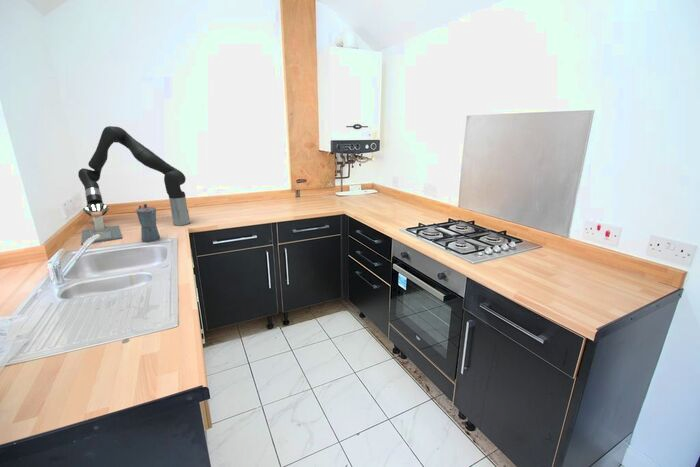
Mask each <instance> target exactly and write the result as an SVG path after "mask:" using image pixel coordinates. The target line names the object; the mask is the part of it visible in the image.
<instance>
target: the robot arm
mask: <svg viewBox="0 0 700 467" xmlns="http://www.w3.org/2000/svg"><path fill="white" fill-rule="evenodd" d="M114 143H118V144H120V145H122V146H124V147H125V148H126V149H128V150H129V151H130V152H131V155H132V156H133V157H134V158H135V159H136V161H138V162H139V163H141V164H142V166H143V165H144V166H145V167H147V168H149V169H150V170H151V169H152V170H154V171H157V172H159V173H161V174H163V175H164V177H163V181H164V186H165V190H166V194H167V195H168V200H169V206H170V211H171V212H170V213H171V218H172V224H173V226H180V227H181V226H186V225H189V223H190V224H191V220H190V213H189V209H188V203H187V199H186V193H185V192H184V191H182V189H181V185H183V184H186V183H185V182H186V179H187V178H186V176H185V174H184V173H183V172H182V171H181V170H179V169H177V168H176V167H174V166H172V165H171V164H169V163H168V162H167V161H165V160H164V159H162V158H161V157H160V156H158V155H157V154H156V153H154V152H153V151H151V149H149V148H147V147H146V146H144V144H142V143H140V142H139V141H138V140H136V139H135V138H134V137H133V136H131V134H129V132H127V131H126V130H125V129H124V128H122V127H120V126H111V125H108V126H105V128H103V130H102V132H101V135H100V138H99V140H98V144H97V147H96V150H95V151H94V152H93V155H92V156H91V158H90V160H89V161H88V164H87V165H88V167H89V168H90V169H88V168H85V167H84V168H81V169H79V170H78V179H79V180H80V182H81V184H82V185H83V187H84V191H85V200H86V207H84V208H82V211H83V213H85V214H87V215H88V216H90V217H91V218H93V217H92V216H91V213H92V212H97V211H101V212H102V216H105V214H106V213H107V212H108V211H109V210H110V206H109V205H105V204H104V202H103V197H102V193H101V191H100V187H99V186H100V185H99V183H98V181H100V179H101V173H102V170H103V168H104V166H105V164H106V163H107V160H108V156H109V150H110V148H111V146H112V145H113V144H114Z"/></svg>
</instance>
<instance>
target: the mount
mask: <svg viewBox="0 0 700 467" xmlns="http://www.w3.org/2000/svg"><path fill="white" fill-rule="evenodd" d="M104 227H105V229H106V231H102V232H96V231H95V227H93V228H90V229H89V230H90V235H91V237H92V236H93V235H96V234H99V235H100V237H99V238H98V239H97V240H103V239H109V238H112V236H111V231H110V227H111V225H108V226H107V225H106V226H104ZM97 240H95V241H97Z"/></svg>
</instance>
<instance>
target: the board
mask: <svg viewBox="0 0 700 467" xmlns="http://www.w3.org/2000/svg"><path fill="white" fill-rule="evenodd" d="M105 227H106V226H104V228H105ZM95 231H96V229H95ZM105 231H106V229H105ZM110 231H111V236H112V238H109V239H103V240H97V241H94V242H93V243H92V244H97V243H98V244H99V243H103V242H104V243H105V242H110V241H116V240H122V239H123V236H122V231H121V228H120V225H118V224H117V225H112V226H111V225H110ZM90 237H91V235H90V229H84V230H83V229H82V230H81V240H80V241H81V246H84V245H83V243H84V242H85V241H86V240H87V239H88V238H90Z"/></svg>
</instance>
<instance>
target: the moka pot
mask: <svg viewBox="0 0 700 467" xmlns="http://www.w3.org/2000/svg"><path fill="white" fill-rule="evenodd" d="M135 210H136V215H137V217H138V218H137V219H138V221H139V224H140V228H141V233H140V234H141V235H140V236H141V238H140V239H141V241H142V242H145V243H152V242H157V241H158V240H159V241H160V239H161V236H160V233H159V230H158V226H157V209H156V207H155V206H154V207H153V206H148V205H147V204H146V203H145V204H143V206H141V205H139V206H138V208H137V209H135Z"/></svg>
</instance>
